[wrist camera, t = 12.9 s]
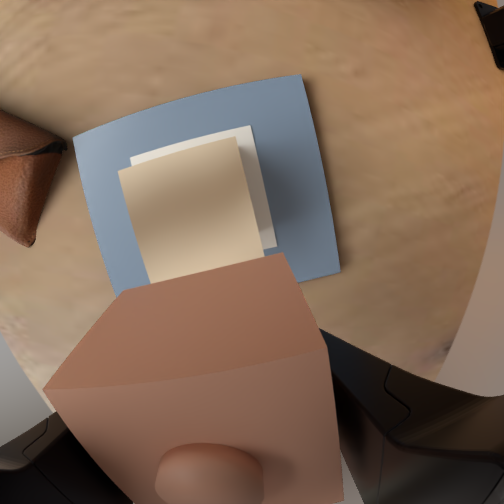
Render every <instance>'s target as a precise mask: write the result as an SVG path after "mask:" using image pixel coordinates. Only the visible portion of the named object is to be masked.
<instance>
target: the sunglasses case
mask: <svg viewBox="0 0 504 504" xmlns="http://www.w3.org/2000/svg"><path fill="white" fill-rule="evenodd" d="M63 149H64V150H67V144H66V142H65V140H63V139H62V138H59V137H58V136H57V135H54V134H52V133H50V132H48V131H46V130H44V129H42V128H39V127H38V126H35V125H34V124H31V123H29V122H27V121H24V120H22V119H20V118H17V117H15V116H13V115H11V114H9V113H7V112H5V111H3V110H0V230H1V231H2V232H3V233H4V234H6V235H7V236H8V237H10V238H12V239H13V240H14V241H16V242H17V243H19V244H21V245H23V246H26V247H30V246H31V245H32V244H33V243H34V242H35V240H36V229H37V224H38V221H39V218H40V215H41V211H42V209H43V206H44V203H45V200H46V197H47V194H48V191H49V188H50V185H51V183H52V180H53V177H54V175H55V172H56V170H57V167H58V164H59V162H60V159H61V156H62V151H63Z"/></svg>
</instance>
